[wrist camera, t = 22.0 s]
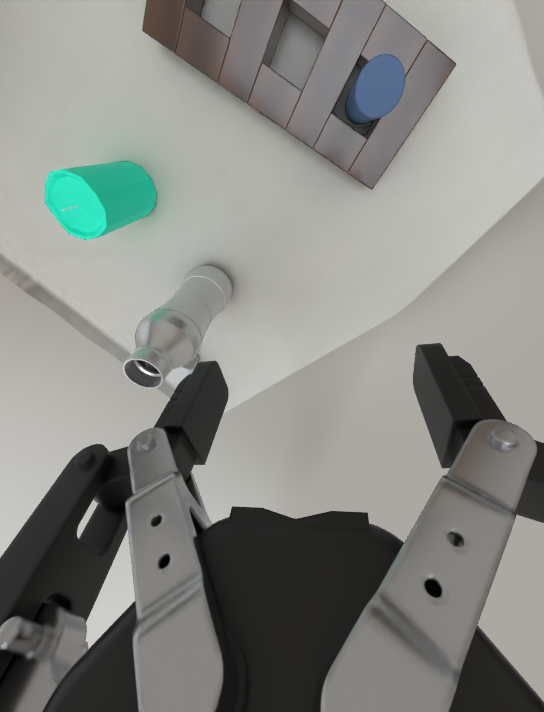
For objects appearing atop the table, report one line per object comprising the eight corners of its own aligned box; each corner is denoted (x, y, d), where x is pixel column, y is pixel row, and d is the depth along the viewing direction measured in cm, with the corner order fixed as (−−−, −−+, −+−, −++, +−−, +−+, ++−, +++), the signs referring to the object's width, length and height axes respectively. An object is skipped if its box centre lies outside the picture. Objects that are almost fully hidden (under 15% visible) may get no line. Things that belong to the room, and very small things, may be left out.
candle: (135, 150, 33) (57, 156, 23) (166, 204, 36) (109, 229, 26) (98, 175, 35) (14, 190, 25) (131, 224, 38) (67, 254, 28)
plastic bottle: (241, 299, 42) (191, 397, 26) (200, 306, 44) (130, 402, 28) (227, 256, 38) (159, 339, 23) (182, 265, 40) (91, 348, 25)
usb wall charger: (173, 364, 52) (164, 378, 49) (181, 335, 48) (171, 350, 45) (194, 372, 53) (186, 387, 49) (204, 345, 48) (195, 360, 45)
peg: (338, 112, 28) (345, 101, 19) (358, 74, 26) (376, 40, 17) (363, 130, 29) (382, 128, 19) (384, 94, 27) (416, 73, 18)
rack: (160, 41, 27) (141, 30, 24) (192, -138, 21) (172, -179, 18) (367, 185, 31) (372, 190, 29) (443, 71, 25) (457, 63, 23)
